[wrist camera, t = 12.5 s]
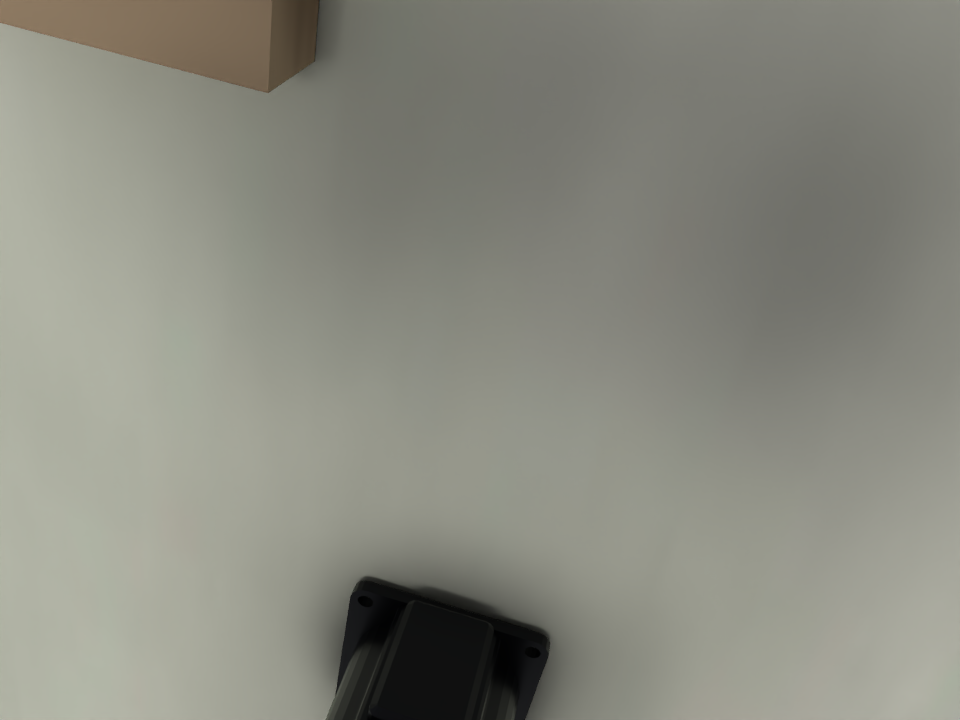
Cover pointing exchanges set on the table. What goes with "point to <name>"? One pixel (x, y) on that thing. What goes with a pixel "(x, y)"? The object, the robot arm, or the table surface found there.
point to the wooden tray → (186, 33)
